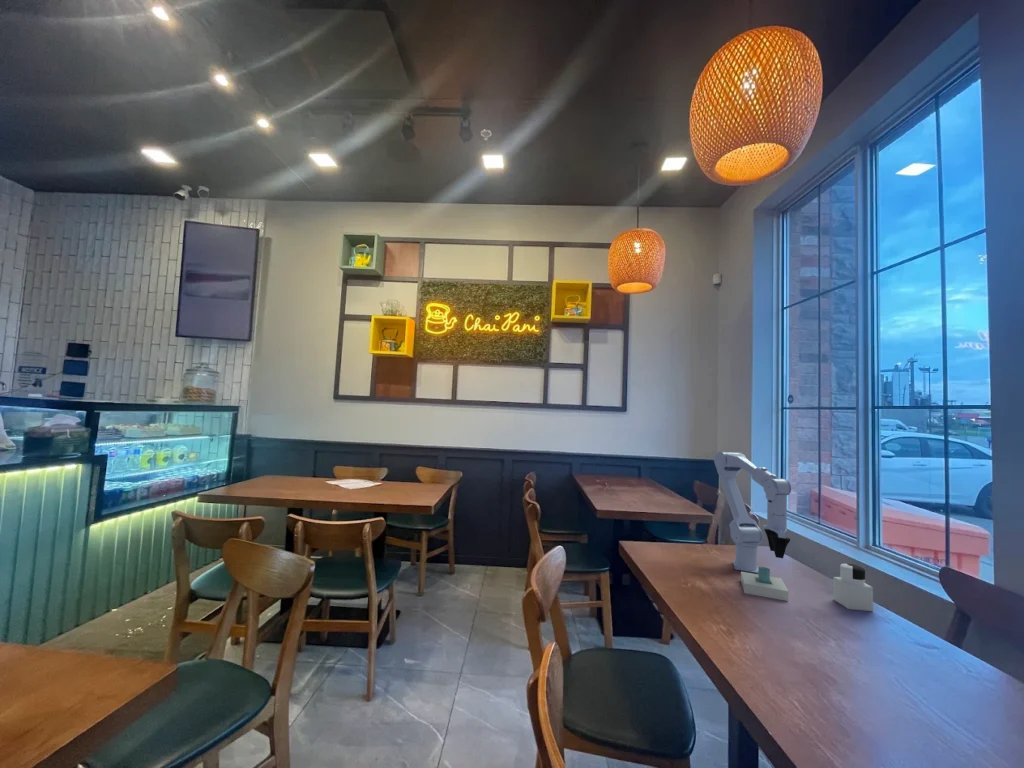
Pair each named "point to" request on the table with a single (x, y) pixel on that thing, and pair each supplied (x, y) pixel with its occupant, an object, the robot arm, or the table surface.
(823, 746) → the table surface
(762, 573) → the peg
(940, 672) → the table surface
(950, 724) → the table surface
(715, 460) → the robot arm
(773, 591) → the socket slab
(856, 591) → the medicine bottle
